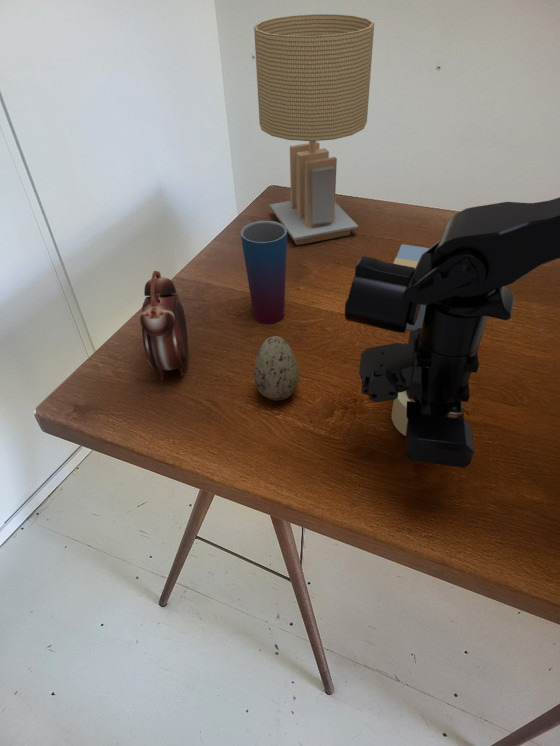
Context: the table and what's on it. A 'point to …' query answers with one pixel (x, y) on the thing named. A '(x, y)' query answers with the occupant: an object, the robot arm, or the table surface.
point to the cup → (266, 268)
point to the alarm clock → (163, 325)
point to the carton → (411, 258)
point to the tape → (400, 412)
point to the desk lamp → (313, 108)
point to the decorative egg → (276, 369)
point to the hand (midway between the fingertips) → (424, 440)
